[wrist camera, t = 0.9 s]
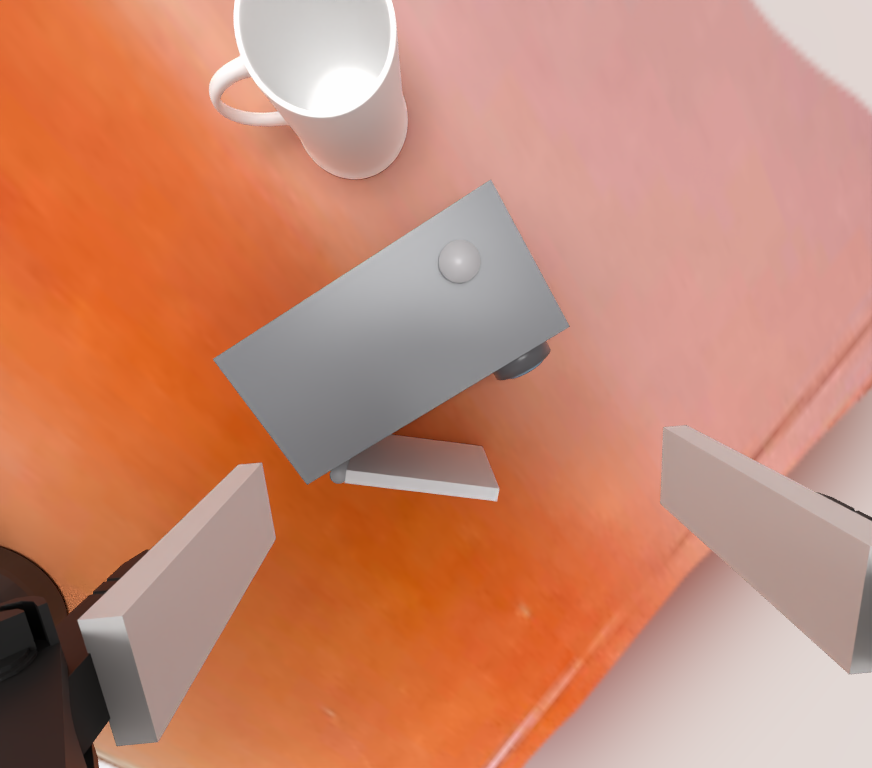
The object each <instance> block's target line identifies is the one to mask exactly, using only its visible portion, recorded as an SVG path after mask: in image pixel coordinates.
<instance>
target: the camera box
mask: <svg viewBox="0 0 872 768" xmlns="http://www.w3.org/2000/svg"><path fill="white" fill-rule="evenodd" d="M568 327H570V326H569V324H568V323H567V321H566V319H565V317H564V315H563V313H562V311H561V310H560V308H559V306H558V304H557V302H556V300H555V298H554V296H553V295H552V293H551V291H550V289H549V287H548V285H547V283H546V282H545V280H544V278H543V276H542V274H541V272H540V270H539V269H538V267H537V265H536V263H535V261H534V259H533V257H532V255H531V254H530V252H529V250H528V248H527V246H526V244H525V242H524V241H523V239H522V237H521V235H520V233H519V231H518V229H517V228H516V226H515V224H514V222H513V220H512V218H511V216H510V214H509V213H508V211H507V209H506V207H505V205H504V203H503V201H502V200H501V198H500V196H499V194H498V192H497V190H496V188H495V187H494V185H493V183H492V181H491V180H489V181H488V182H486V183H485V184H483V185H482V186H480V187H479V188H477V189H476V190H474V191H472V192H471V193H469V194H468V195H466V196H465V197H463V198H462V199H460V200H458V201H457V202H455V203H454V204H452V205H451V206H449V207H448V208H446V209H445V210H443V211H441V212H440V213H438V214H437V215H435V216H434V217H432V218H431V219H429V220H428V221H426V222H424V223H423V224H421V225H420V226H418V227H417V228H415V229H414V230H412V231H410V232H409V233H407V234H406V235H404V236H403V237H401V238H400V239H398V240H397V241H395V242H393V243H392V244H390V245H389V246H387V247H386V248H384V249H383V250H381V251H380V252H378V253H376V254H375V255H373V256H372V257H370V258H369V259H367V260H366V261H364V262H363V263H361V264H359V265H358V266H356V267H355V268H353V269H352V270H350V271H349V272H347V273H345V274H344V275H342V276H341V277H339V278H338V279H336V280H335V281H333V282H332V283H330V284H328V285H327V286H325V287H324V288H322V289H321V290H319V291H318V292H316V293H315V294H313V295H311V296H310V297H308V298H307V299H305V300H304V301H302V302H301V303H299V304H297V305H296V306H294V307H293V308H291V309H290V310H288V311H287V312H285V313H284V314H282V315H280V316H279V317H277V318H276V319H274V320H273V321H271V322H270V323H268V324H267V325H265V326H263V327H262V328H260V329H259V330H257V331H256V332H254V333H253V334H251V335H249V336H248V337H246V338H245V339H243V340H242V341H240V342H239V343H237V344H236V345H234V346H232V347H231V348H229V349H228V350H226V351H225V352H223V353H222V354H220V355H219V356H217V357H215V358H214V359H213V360H214V361H215V363H216V364H217V365H218V367H219V368H220V369H221V371H222V372H223V373H224V375H225V376H226V377H227V379H228V380H229V381H230V383H231V384H232V385H233V387H234V388H235V389H236V391H237V392H238V393H239V395H240V396H241V397H242V399H243V400H244V401H245V403H246V404H247V405H248V407H249V408H250V409H251V411H252V412H253V413H254V415H255V416H256V417H257V419H258V420H259V421H260V423H261V424H262V425H263V427H264V428H265V429H266V431H267V432H268V433H269V435H270V436H271V437H272V439H273V440H274V441H275V443H276V444H277V445H278V447H279V448H280V449H281V451H282V452H283V453H284V455H285V456H286V457H287V459H288V460H289V461H290V463H291V464H292V465H293V467H294V468H295V469H296V471H297V472H298V473H299V475H300V476H301V477H302V479H303V480H304V481H305V483H306V484H309V483H311V482H312V481H314V480H316V479H317V478H319V477H321V476H322V475H324V474H326V473H327V472H329V471H331V470H332V469H334V468H336V467H337V466H339V465H341V464H342V463H344V462H346V461H347V460H349V459H351V458H352V457H354V456H356V455H357V454H359V453H361V452H362V451H364V450H366V449H367V448H369V447H371V446H372V445H374V444H376V443H377V442H379V441H380V440H382V439H384V438H385V437H387V436H389V435H390V434H392V433H394V432H395V431H397V430H399V429H400V428H402V427H404V426H405V425H407V424H409V423H410V422H412V421H414V420H415V419H417V418H419V417H420V416H422V415H424V414H425V413H427V412H429V411H430V410H432V409H434V408H435V407H437V406H439V405H440V404H442V403H444V402H445V401H447V400H449V399H450V398H452V397H454V396H455V395H457V394H459V393H460V392H462V391H464V390H465V389H467V388H468V387H470V386H472V385H473V384H475V383H477V382H478V381H480V380H482V379H483V378H485V377H487V376H488V375H490V374H492V373H494V375H495V377H496V378H497V379H498V380H506V379H513V378H517V377H520V376H522V375H524V374H526V373H528V372H530V371H532V370H533V369H535V368H536V367H537V366H538V365H540V364H541V363H542V361H543V360H544V359H545V358H546V357H547V356H548V354H549V353H550V348H549V346H548V344H547V342H546V341H547V340H548V339H550V338H552V337H553V336H555V335H556V334H558V333H560V332H561V331H563V330H565V329H566V328H568Z"/></svg>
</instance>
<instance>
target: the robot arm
mask: <svg viewBox="0 0 872 768" xmlns="http://www.w3.org/2000/svg"><path fill="white" fill-rule="evenodd" d="M660 504H661V505H662V506H663V507H664V508H666V509H667V510H668V511H669V512H670V513H671V514H672V515H673V516H674V517H676V518H677V519H678V520H679V521H680V522H681V523H682V524H683V525H684V526H686V527H687V528H688V529H689V530H690V531H691V532H692V533H693V534H694V535H695V536H697V537H698V538H699V539H700V540H701V541H702V542H703V543H704V544H705V545H707V546H708V547H709V548H710V549H711V550H712V551H713V552H714V553H715V554H717V555H718V556H719V557H720V558H721V559H722V560H723V561H724V562H725V563H727V564H728V565H729V566H730V567H731V568H732V569H733V570H734V571H735V572H736V573H738V574H739V575H740V576H741V577H742V578H743V579H744V580H745V581H746V582H748V583H749V584H750V585H751V586H752V587H753V588H754V589H755V590H756V591H758V592H759V593H760V594H761V595H762V596H763V597H764V598H765V599H767V600H768V601H769V602H770V603H771V604H772V605H773V606H774V607H775V608H776V609H777V610H779V611H780V612H781V613H782V614H783V615H784V616H785V617H786V618H788V619H789V620H790V621H791V622H792V623H793V624H794V625H795V626H796V627H797V628H799V629H800V630H801V631H802V632H803V633H804V634H805V635H806V636H807V637H809V638H810V639H811V640H812V641H813V642H814V643H815V644H816V645H817V646H819V647H820V648H821V649H822V650H823V651H824V652H825V653H826V654H828V656H830V657H831V658H832V659H833V660H834V661H835V662H836V663H837V664H838V665H840V666H841V667H842V668H843V669H844V670H845V671H846V672H847V673H849V674H859V673H869V672H872V517H870V516H868V515H866V514H864V513H862V512H860V511H855V510H854V508H852V507H850V506H848V505H846V504H844V503H842V502H840V501H838V500H836V499H834V498H832V497H830V496H826V495H824V494H821V493H817V492H815V491H813V490H811V489H809V488H807V487H805V486H803V485H801V484H799V483H797V482H795V481H793V480H791V479H789V478H787V477H786V476H784V475H782V474H780V473H778V472H776V471H774V470H772V469H770V468H768V467H766V466H764V465H762V464H760V463H759V462H757V461H755V460H753V459H751V458H749V457H747V456H745V455H743V454H741V453H739V452H737V451H735V450H733V449H731V448H730V447H728V446H726V445H724V444H722V443H720V442H718V441H716V440H714V439H712V438H710V437H708V436H706V435H704V434H702V433H701V432H699V431H697V430H695V429H693V428H691V427H689V426H687V425H682V426H671V427H663V447H662V473H661V499H660ZM275 539H276V536H275V531H274V526H273V520H272V515H271V509H270V504H269V498H268V493H267V487H266V482H265V476H264V471H263V465H262V463H252V464H241V465H237V466H236V467H235V468H234V469H233V470H232V471H231V472H230V473H229V474H228V475H227V476H226V477H225V478H224V479H223V480H222V481H221V482H220V483H219V484H218V485H217V486H216V487H215V488H214V489H213V490H212V491H211V492H210V493H208V494H207V495H206V496H205V497H204V498H203V499H202V500H201V501H200V502H199V503H198V504H197V505H196V506H195V507H194V508H193V509H192V510H191V511H190V512H189V513H188V514H187V515H186V516H185V517H184V518H183V519H182V520H181V521H180V522H178V523H177V524H176V525H175V526H174V527H173V528H172V529H171V530H170V531H169V532H168V533H167V534H166V535H165V536H164V537H163V538H162V539H161V540H160V541H159V542H158V543H157V544H156V545H155V546H154V547H153V548H152V549H150V550H145V551H143V552H142V553H140V554H138V555H137V556H135V557H133V558H132V559H130V560H129V561H127V562H125V563H124V564H123V565H121V566H120V567H119V568H118V569H117V570H116V571H115V572H114V573H113V574H112V575H111V576H110V577H109V578H107V582H103V583H102V584H101V585H100V586H99V587H98V588H97V589H96V590H94V591H93V595H89V596H88V597H87V598H86V599H85V600H84V601H83V602H82V603H80V604H79V605H78V606H77V607H76V608H75V609H74V610H73V611H72V612H71V613H70V614H69V615H67V611H66V607H65V604H64V601H63V599H62V597H61V595H60V593H59V591H58V589H57V588H56V586H55V585H54V584H53V582H52V581H51V580H50V579H49V577H48V576H47V575H46V574H45V573H44V572H43V571H42V570H41V569H39V568H38V567H37V566H36V565H34V564H33V563H32V562H30V561H29V560H27V559H26V558H24V557H22V556H20V555H18V554H16V553H14V552H12V551H10V550H7V549H5V548H2V547H0V768H99V765H98V757H97V754H96V751H95V748H94V745H93V742H94V740H95V739H96V738H97V736H98V735H99V733H100V732H101V731H102V729H103V728H104V727H105V725H106V724H107V722H108V721H109V723H110V726H111V730H112V733H113V736H114V739H115V742H116V746H123V745H133V744H144V743H154V742H158V741H159V740H160V738H161V736H162V734H163V733H164V731H165V729H166V728H167V726H168V724H169V722H170V721H171V719H172V717H173V715H174V714H175V712H176V710H177V709H178V707H179V705H180V703H181V702H182V700H183V698H184V696H185V695H186V693H187V691H188V690H189V688H190V686H191V684H192V683H193V681H194V679H195V678H196V676H197V674H198V672H199V671H200V669H201V667H202V665H203V664H204V662H205V660H206V659H207V657H208V655H209V653H210V652H211V650H212V648H213V646H214V645H215V643H216V641H217V640H218V638H219V636H220V634H221V633H222V631H223V629H224V627H225V626H226V624H227V622H228V621H229V619H230V617H231V615H232V614H233V612H234V610H235V608H236V607H237V605H238V603H239V602H240V600H241V598H242V596H243V595H244V593H245V591H246V590H247V588H248V586H249V584H250V583H251V581H252V579H253V577H254V576H255V574H256V572H257V571H258V569H259V567H260V565H261V564H262V562H263V560H264V558H265V557H266V555H267V553H268V552H269V550H270V548H271V546H272V545H273V543H274V541H275Z"/></svg>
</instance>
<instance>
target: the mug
mask: <svg viewBox="0 0 872 768" xmlns="http://www.w3.org/2000/svg"><path fill="white" fill-rule="evenodd" d="M234 30H235V37H236V42H237V46H238V49H239V52H240V56H239V57H237V58H235V59H234V60H232V61H230V62H228V63H227V64H225V65H224V66H222V67H221V68H220V69H219V70H218V71H217V72H216V73H215V74H214V76H213V77H212V79H211V81H210V85H209V94H210V98H211V101H212V103H213V105H214V107H215V108H216V110H217V111H218V112H219V113H220V114H221V115H223V116H224V117H226V118H227V119H229V120H232V121H234V122H237V123H241V124H245V125H251V126H262V127H271V126H284V125H289V126H290V127H291V128H292V129H293V131H294V132H295V133H296V134H297V136H298V137H299V138H300V140H301V143H302V145H303V147H304V148H305V150H306V152H307V153H308V154H309V156H310V157H311V158H312V159H313V160H314V162H315V163H317V164H318V165H319V166H320V167H321V168H323V169H324V170H326V171H327V172H329V173H331V174H333V175H335V176H338V177H341V178H346V179H364V178H368V177H371V176H374V175H376V174H378V173H380V172H382V171H383V170H385V169H386V168H387V167H388V166H389V165H390V164H391V163H392V162H393V161H394V160H395V159H396V157H397V156H398V154H399V153H400V151H401V149H402V147H403V144H404V142H405V138H406V134H407V128H408V113H407V107H406V102H405V99H404V96H403V93H402V83H401V71H400V60H399V48H398V37H397V26H396V18H395V12H394V7H393V4H392V0H235V4H234ZM249 77H252V78H253V80H254V81H255V83H256V84H257V85H258V87H259V88H260V89H261V91H262V92H263V93H264V94H265V96H266V97H267V98H268V99H269V101H270V102H271V103H272V104H273V106H274V107H275V108H276V109H277V112H268V113H256V112H247V111H242V110H238V109H235V108H232V107H230V106H228V105H226V104H225V103H223V102H222V101H221V100H220V98H221V95H222V94H223V92H224V91H225V90H226V89H227V88H228V87H229V86H231V85H232V84H234V83H235V82H237V81H239V80H242V79H245V78H249Z"/></svg>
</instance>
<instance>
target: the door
mask: <svg viewBox="0 0 872 768" xmlns="http://www.w3.org/2000/svg"><path fill="white" fill-rule="evenodd" d="M330 478H331V480H332V481H333V482H334V483H338V484H339V483H343V482H344V481H345V483H349V484H357V485H365V486H374V487H382V488H391V489H399V490H407V491H416V492H424V493H432V494H441V495H449V496H458V497H466V498H474V499H483V500H491V501H497V498H498V493H499V486H498V484H497V481H496V479H495V476H494V474H493V471H492V469H491V466H490V464H489V461H488V459H487V456H486V454H485V451H484V449H483V446H477V445H469V444H462V443H454V442H446V441H438V440H430V439H423V438H415V437H407V436H399V435H391V434H390V435H389V436H387V437H385V438H384V439H382V440H380V441H379V442H377V443H376V444H374V445H372V446H371V447H369V448H367V449H366V450H364V451H362V452H361V453H359V454H357V455H356V456H354V457H352V458H351V459H349V460H347V461H346V462H344V463H342V464H341V465H339V466H337V467H336V468H334V469H332V470H331V472H330Z"/></svg>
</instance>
